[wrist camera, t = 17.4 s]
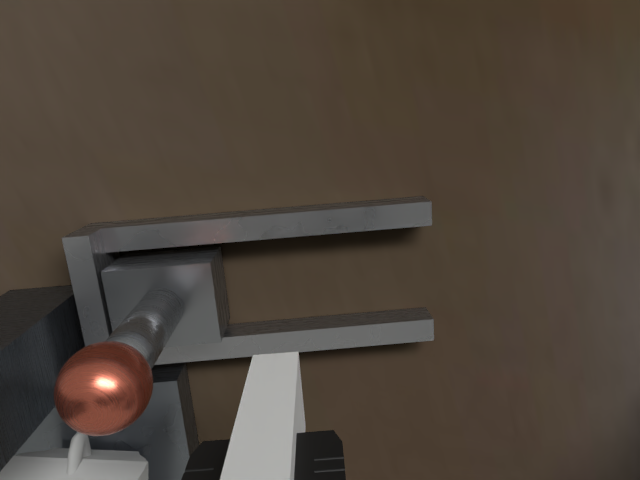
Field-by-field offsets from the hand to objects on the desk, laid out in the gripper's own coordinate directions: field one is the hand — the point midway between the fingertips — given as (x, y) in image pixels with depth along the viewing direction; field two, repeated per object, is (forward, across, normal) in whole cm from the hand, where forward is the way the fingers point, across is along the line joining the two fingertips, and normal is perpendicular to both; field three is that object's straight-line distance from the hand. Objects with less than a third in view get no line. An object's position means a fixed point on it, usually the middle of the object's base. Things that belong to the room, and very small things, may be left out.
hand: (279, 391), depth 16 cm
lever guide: (+10, +1, -1) cm, 10 cm away
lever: (+10, +6, -1) cm, 12 cm away
